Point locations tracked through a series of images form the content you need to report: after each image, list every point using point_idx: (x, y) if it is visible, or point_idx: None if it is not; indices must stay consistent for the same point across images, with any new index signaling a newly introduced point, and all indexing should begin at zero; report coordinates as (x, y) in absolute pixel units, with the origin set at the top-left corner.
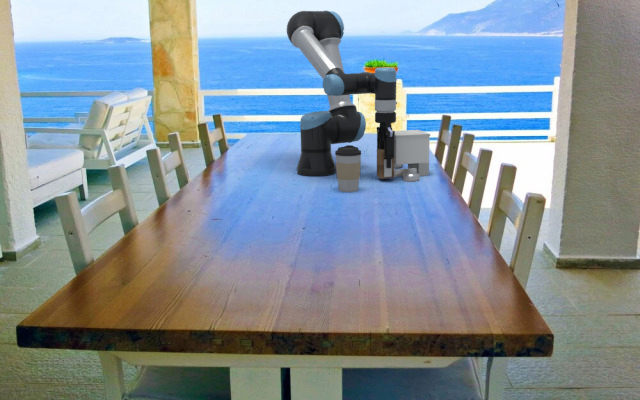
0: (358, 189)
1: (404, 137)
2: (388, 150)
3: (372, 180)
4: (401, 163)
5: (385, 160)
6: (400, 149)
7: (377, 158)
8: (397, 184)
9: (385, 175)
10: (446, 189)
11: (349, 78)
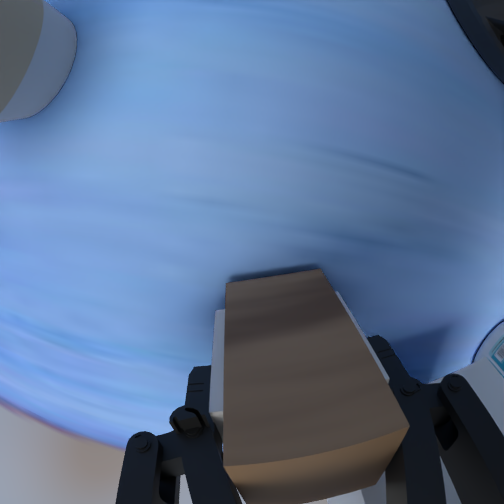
0: (17, 119)
1: None
2: (121, 500)
3: (279, 226)
4: None
5: (210, 407)
6: (355, 500)
7: (347, 360)
8: (144, 340)
9: (216, 321)
10: (84, 433)
11: None
